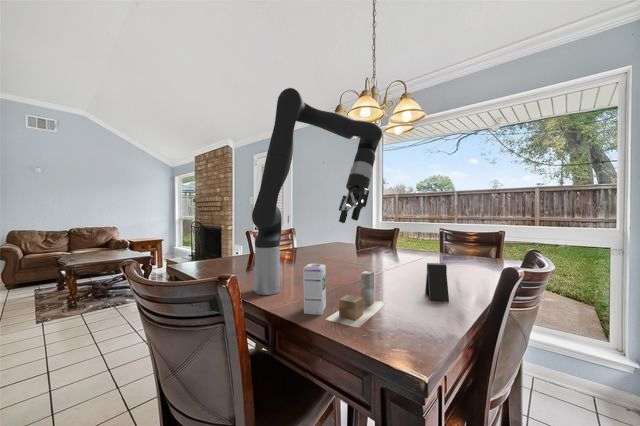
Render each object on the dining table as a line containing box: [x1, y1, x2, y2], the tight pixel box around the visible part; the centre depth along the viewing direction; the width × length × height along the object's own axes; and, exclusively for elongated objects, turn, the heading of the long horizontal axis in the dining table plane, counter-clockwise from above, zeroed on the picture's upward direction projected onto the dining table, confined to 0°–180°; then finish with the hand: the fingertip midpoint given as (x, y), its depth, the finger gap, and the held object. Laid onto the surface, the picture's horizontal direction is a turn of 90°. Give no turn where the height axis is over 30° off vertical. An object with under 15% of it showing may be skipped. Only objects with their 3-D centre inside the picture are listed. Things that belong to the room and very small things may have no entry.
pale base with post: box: [324, 270, 387, 329], centre depth 81 cm, size 10×22×11 cm, turn 147°
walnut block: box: [338, 294, 363, 321], centre depth 77 cm, size 5×5×5 cm
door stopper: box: [424, 262, 450, 302], centre depth 96 cm, size 9×6×12 cm, turn 169°
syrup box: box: [302, 263, 327, 316], centre depth 81 cm, size 6×6×14 cm
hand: (347, 221), depth 89 cm, fingers open, 8 cm apart
